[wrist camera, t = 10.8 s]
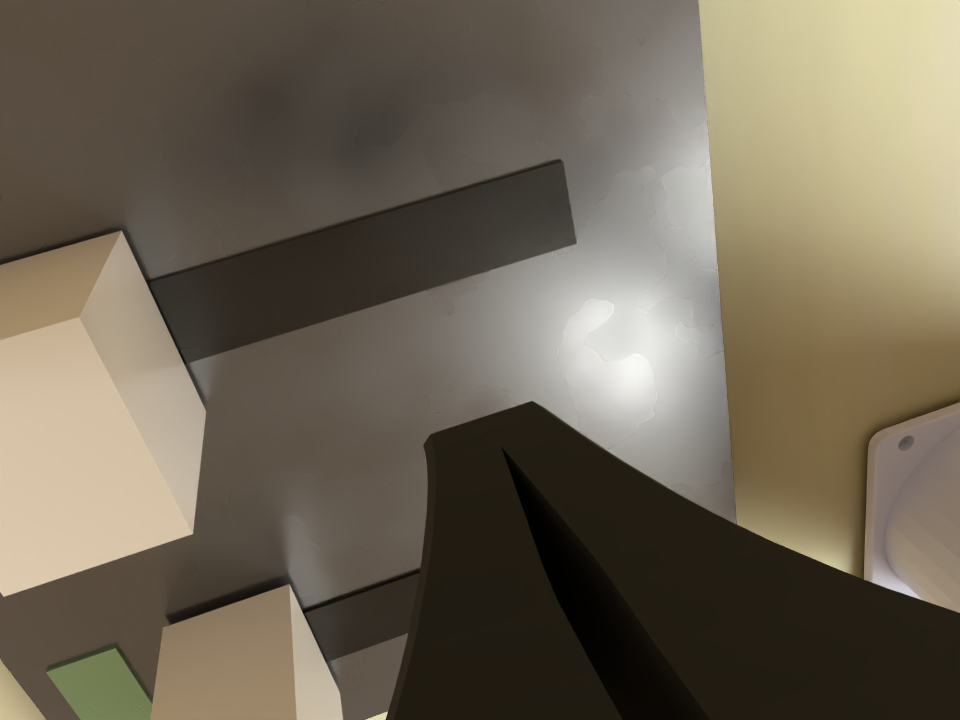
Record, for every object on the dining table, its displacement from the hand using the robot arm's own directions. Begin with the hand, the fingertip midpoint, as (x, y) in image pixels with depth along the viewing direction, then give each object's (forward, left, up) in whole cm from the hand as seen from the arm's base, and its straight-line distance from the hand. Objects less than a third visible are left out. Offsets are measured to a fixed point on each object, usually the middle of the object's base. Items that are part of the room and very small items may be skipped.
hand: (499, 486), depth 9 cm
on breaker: (+6, +9, -8) cm, 13 cm away
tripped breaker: (+6, 0, -8) cm, 10 cm away
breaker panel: (+2, +3, -9) cm, 10 cm away
